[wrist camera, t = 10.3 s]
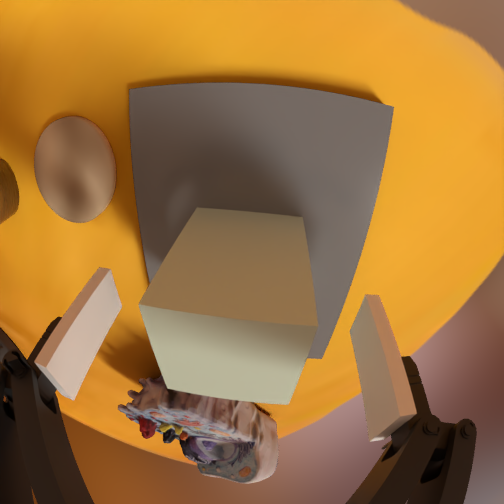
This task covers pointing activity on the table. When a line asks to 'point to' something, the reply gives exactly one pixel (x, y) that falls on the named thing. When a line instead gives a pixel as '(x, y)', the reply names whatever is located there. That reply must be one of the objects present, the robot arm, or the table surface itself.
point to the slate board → (262, 170)
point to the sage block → (233, 306)
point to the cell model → (208, 430)
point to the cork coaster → (75, 169)
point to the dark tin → (7, 192)
